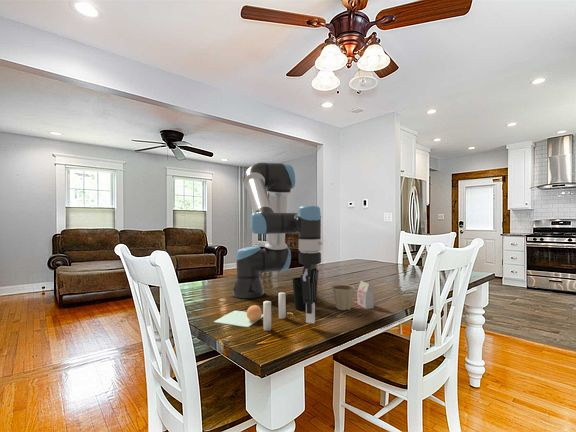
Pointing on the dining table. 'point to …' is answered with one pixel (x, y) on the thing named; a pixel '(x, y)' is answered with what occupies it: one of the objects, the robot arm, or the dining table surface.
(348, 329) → the dining table surface
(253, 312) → the ball
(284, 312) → the right post
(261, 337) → the dining table surface
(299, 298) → the cup
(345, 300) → the flower pot
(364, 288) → the milk carton
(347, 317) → the dining table surface
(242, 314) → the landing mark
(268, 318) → the left post
